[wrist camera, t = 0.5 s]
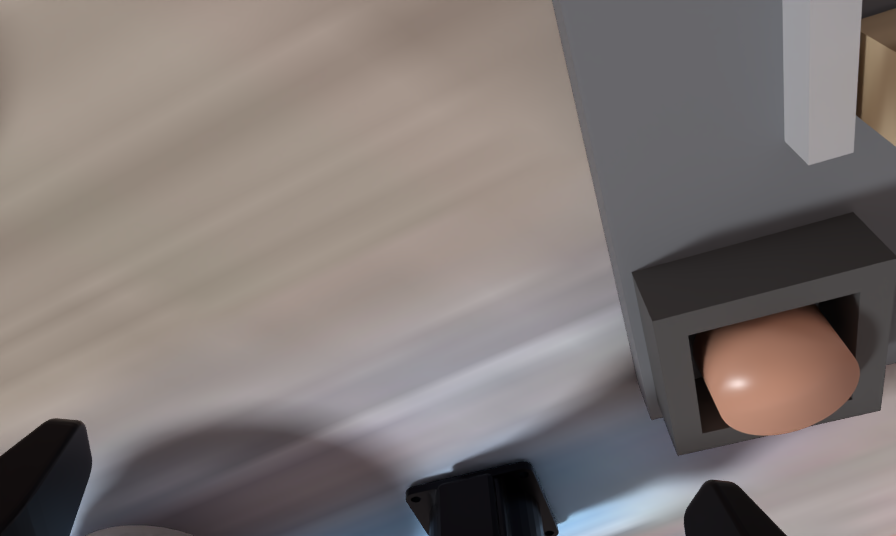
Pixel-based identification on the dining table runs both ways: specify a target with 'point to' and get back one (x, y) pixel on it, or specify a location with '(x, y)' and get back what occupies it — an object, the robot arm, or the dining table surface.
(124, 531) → the bowl
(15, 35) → the dining table surface
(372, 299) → the dining table surface
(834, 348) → the button terracotta
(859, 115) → the upright wooden block
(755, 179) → the control panel
